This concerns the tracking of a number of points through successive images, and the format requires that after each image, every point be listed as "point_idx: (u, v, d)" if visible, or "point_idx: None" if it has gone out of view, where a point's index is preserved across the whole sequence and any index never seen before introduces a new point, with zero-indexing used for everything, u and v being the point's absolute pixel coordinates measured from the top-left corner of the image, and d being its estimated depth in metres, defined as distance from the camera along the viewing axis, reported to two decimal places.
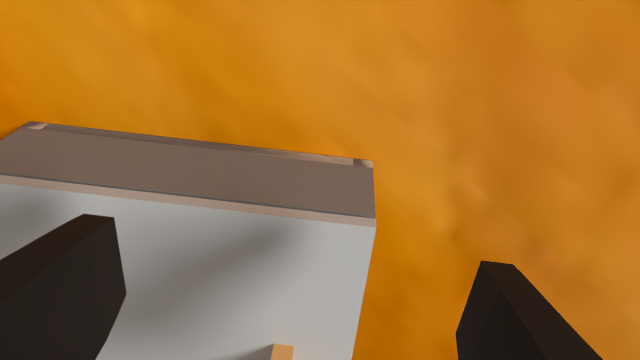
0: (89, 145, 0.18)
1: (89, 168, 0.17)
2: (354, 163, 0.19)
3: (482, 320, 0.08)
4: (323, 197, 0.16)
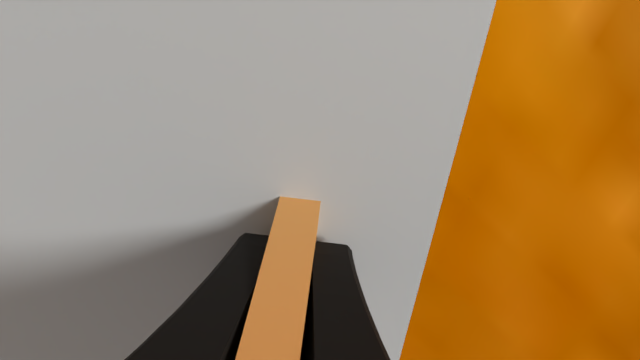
0: None
1: None
2: None
3: None
4: None
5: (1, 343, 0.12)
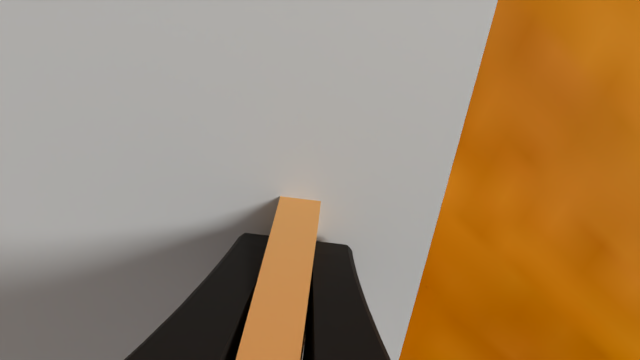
0: None
1: None
2: None
3: None
4: None
5: (0, 342, 0.12)
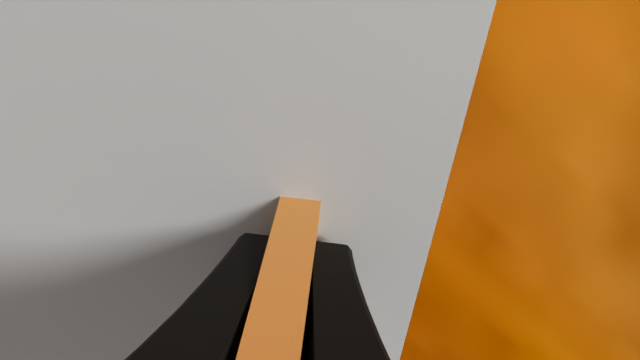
0: None
1: None
2: None
3: None
4: None
5: (1, 343, 0.12)
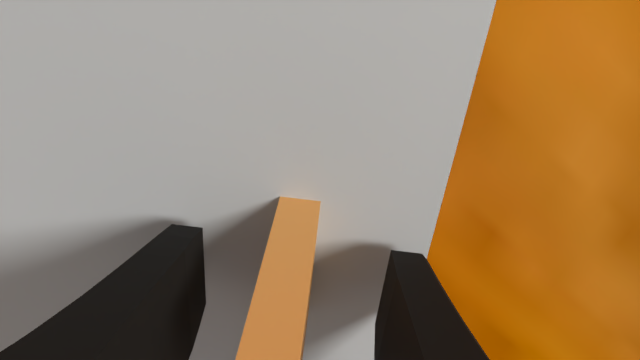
0: None
1: None
2: None
3: (387, 309, 0.08)
4: None
5: (1, 343, 0.12)
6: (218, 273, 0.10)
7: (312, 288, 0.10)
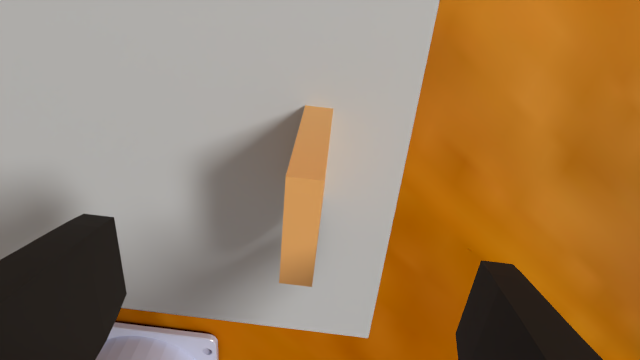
0: None
1: None
2: None
3: (482, 320, 0.08)
4: None
5: None
6: (259, 167, 0.14)
7: (326, 178, 0.14)
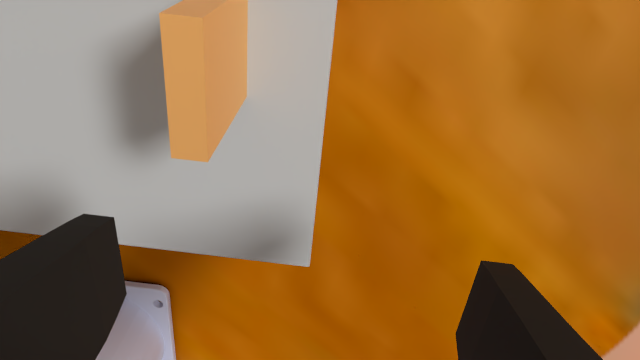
0: None
1: None
2: None
3: (482, 320, 0.08)
4: None
5: (3, 143, 0.15)
6: None
7: (248, 73, 0.13)
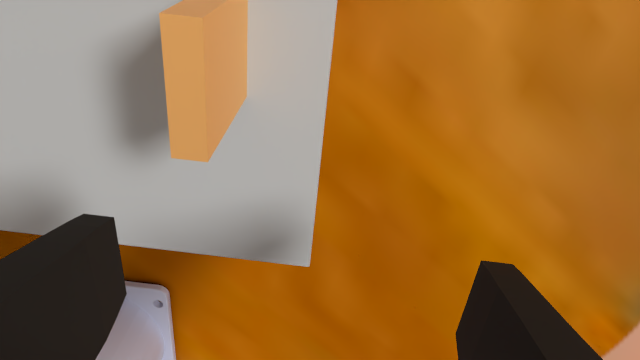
0: None
1: None
2: None
3: (482, 320, 0.08)
4: None
5: (3, 143, 0.15)
6: None
7: (248, 73, 0.13)
